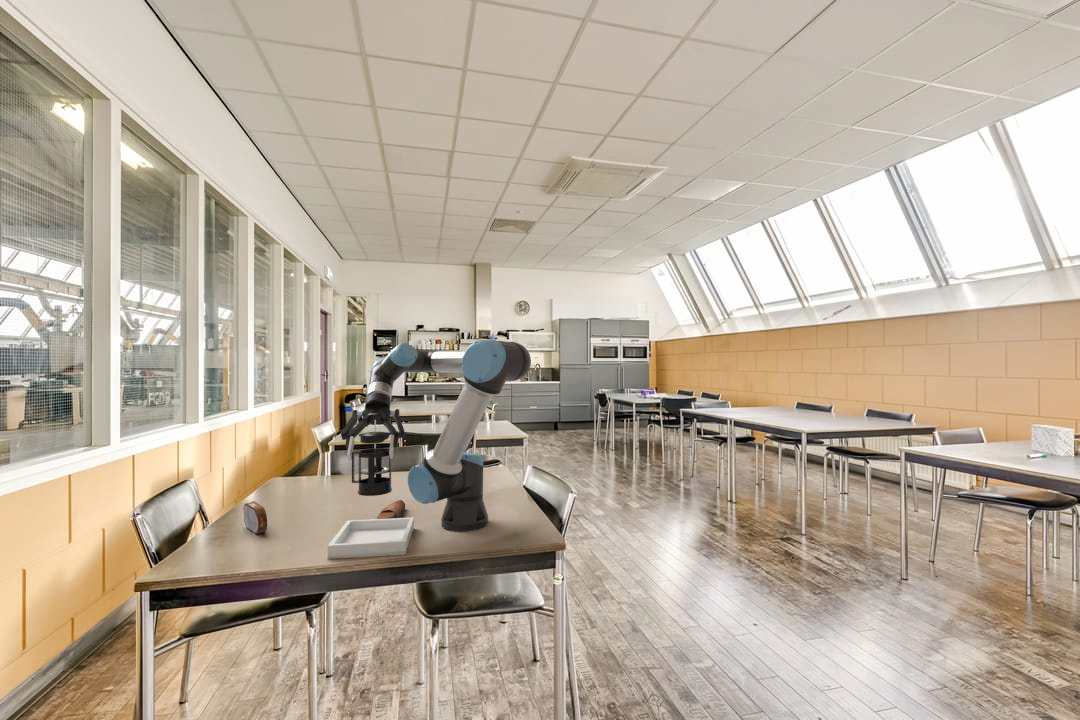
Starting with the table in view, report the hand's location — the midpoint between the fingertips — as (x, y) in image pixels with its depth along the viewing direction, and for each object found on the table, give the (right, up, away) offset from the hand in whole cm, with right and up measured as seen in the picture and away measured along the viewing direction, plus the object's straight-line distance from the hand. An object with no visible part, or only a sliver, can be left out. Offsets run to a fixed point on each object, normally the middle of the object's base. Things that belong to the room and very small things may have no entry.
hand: (370, 456), depth 137 cm
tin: (-41, -26, +13) cm, 50 cm away
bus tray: (+1, -25, +2) cm, 26 cm away
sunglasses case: (-3, -27, +27) cm, 38 cm away
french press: (0, -11, +3) cm, 11 cm away
